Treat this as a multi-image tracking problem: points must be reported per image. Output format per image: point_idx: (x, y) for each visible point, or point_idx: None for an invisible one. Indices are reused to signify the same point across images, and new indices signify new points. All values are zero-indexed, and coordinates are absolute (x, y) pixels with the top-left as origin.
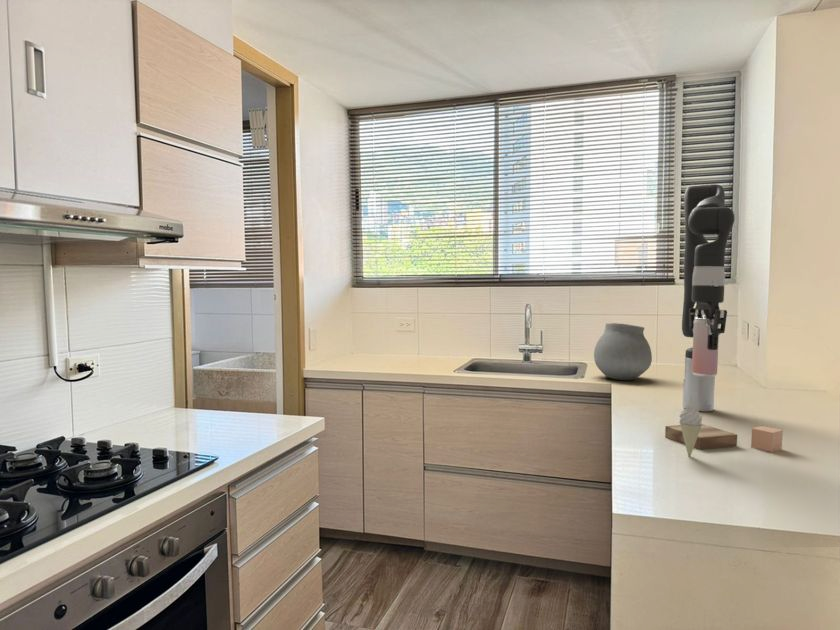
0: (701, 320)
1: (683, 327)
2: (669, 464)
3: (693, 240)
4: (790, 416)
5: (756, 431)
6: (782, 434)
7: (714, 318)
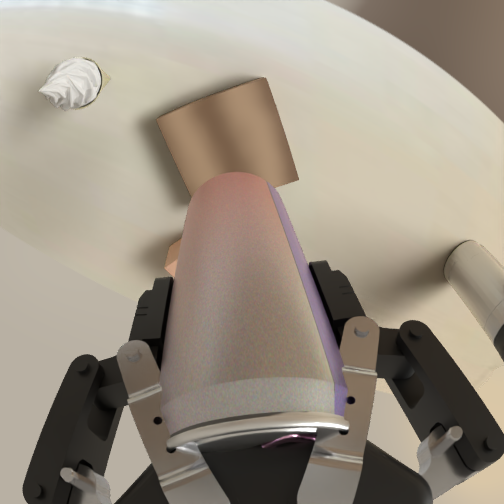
0: (186, 420)
1: None
2: (57, 33)
3: None
4: None
5: None
6: None
7: (64, 450)
